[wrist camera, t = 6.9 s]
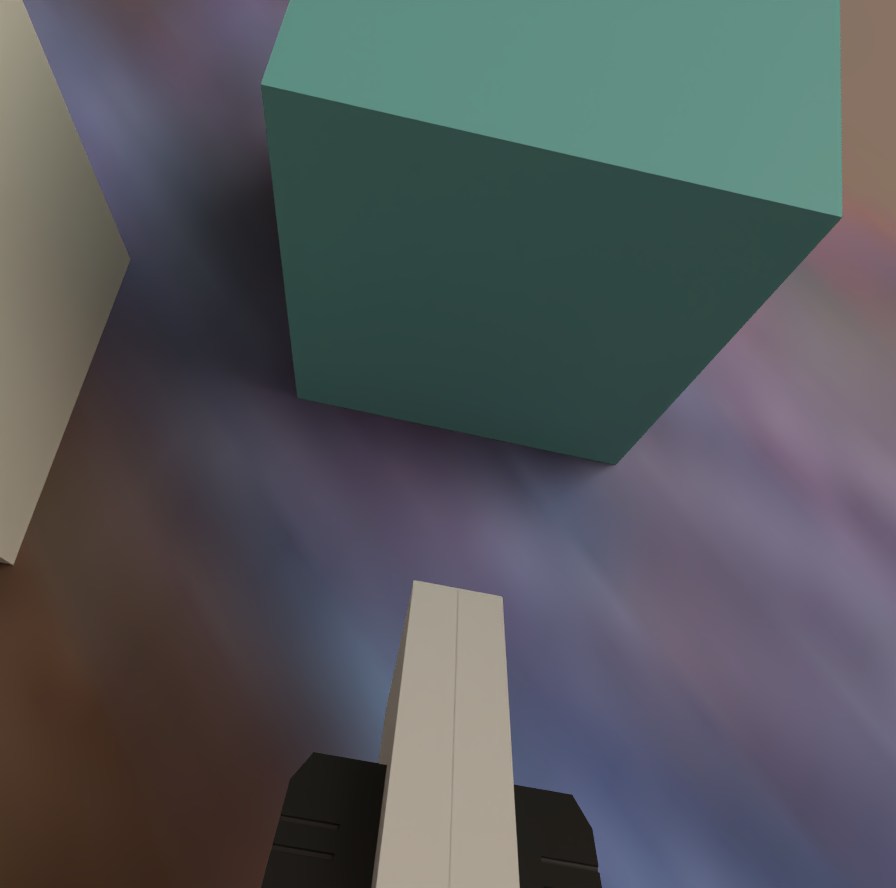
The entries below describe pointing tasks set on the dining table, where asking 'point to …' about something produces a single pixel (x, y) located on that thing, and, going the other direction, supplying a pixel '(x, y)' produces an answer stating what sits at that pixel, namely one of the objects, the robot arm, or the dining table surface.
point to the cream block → (44, 270)
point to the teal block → (542, 200)
